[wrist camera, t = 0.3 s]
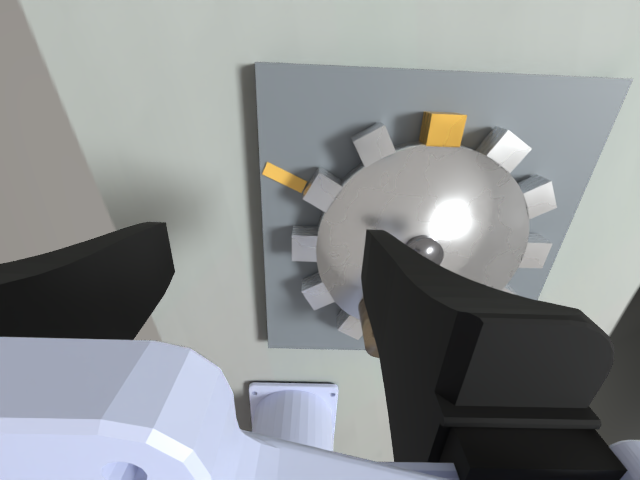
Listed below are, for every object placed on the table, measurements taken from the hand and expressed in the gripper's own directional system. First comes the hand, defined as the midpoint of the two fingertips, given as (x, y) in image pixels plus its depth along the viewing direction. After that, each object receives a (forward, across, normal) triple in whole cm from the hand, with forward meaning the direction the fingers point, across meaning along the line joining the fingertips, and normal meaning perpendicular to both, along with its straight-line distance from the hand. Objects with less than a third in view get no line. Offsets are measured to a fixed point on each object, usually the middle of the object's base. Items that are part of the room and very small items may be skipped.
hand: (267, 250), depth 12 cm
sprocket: (+9, -8, +4) cm, 13 cm away
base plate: (+10, -8, +4) cm, 13 cm away
